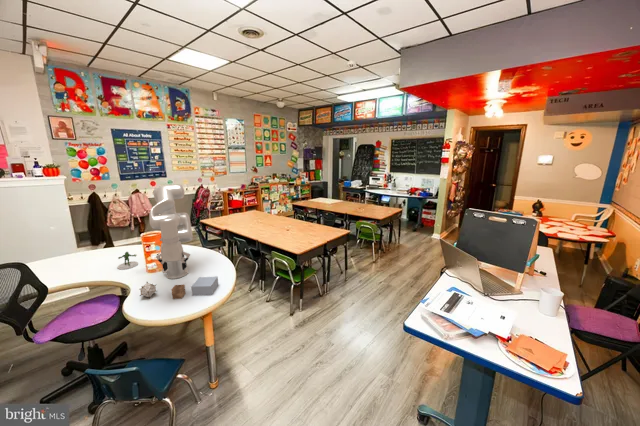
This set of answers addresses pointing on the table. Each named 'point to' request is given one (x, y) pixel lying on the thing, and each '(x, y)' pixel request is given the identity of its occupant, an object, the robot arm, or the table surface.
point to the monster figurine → (127, 264)
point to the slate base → (204, 286)
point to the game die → (148, 290)
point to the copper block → (178, 291)
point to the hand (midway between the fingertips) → (175, 269)
